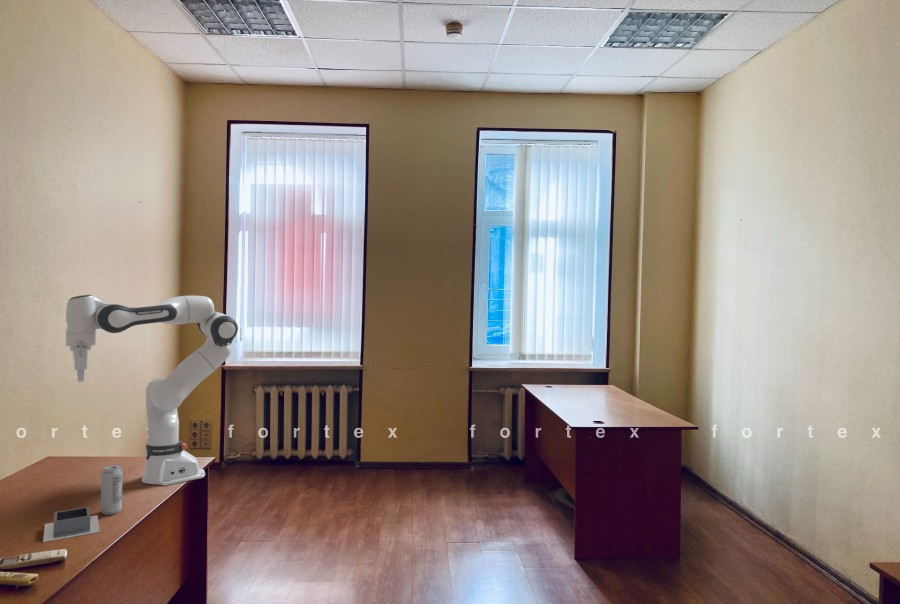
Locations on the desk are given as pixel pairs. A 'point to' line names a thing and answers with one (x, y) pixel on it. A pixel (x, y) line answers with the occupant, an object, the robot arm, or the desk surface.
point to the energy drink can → (111, 490)
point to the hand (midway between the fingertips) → (80, 379)
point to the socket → (71, 524)
